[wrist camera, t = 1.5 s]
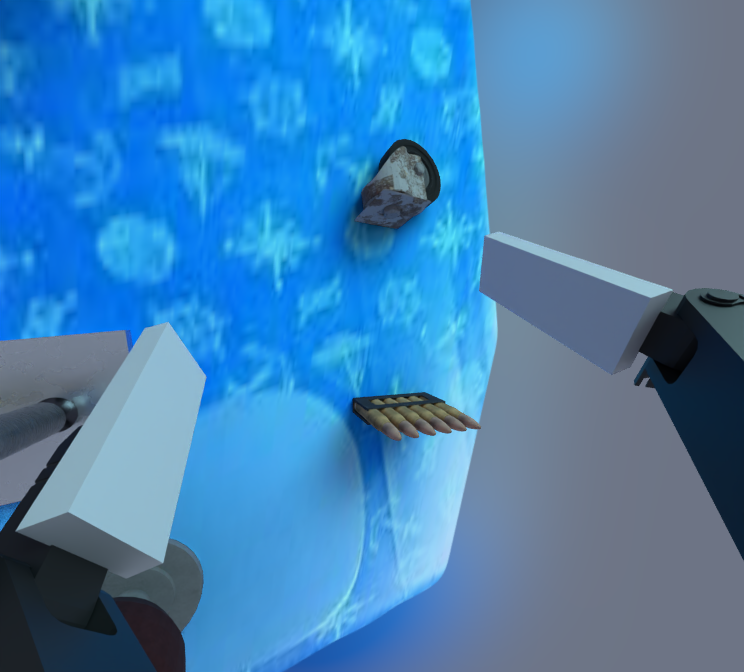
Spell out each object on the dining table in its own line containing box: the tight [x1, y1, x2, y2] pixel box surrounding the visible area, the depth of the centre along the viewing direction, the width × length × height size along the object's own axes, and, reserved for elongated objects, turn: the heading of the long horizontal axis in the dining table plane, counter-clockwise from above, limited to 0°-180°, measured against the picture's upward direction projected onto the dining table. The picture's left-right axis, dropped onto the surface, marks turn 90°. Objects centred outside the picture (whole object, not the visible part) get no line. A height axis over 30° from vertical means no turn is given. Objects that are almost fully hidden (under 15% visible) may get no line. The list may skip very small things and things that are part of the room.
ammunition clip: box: [353, 392, 481, 441], centre depth 32 cm, size 11×2×12 cm, turn 90°
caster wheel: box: [355, 139, 441, 228], centre depth 34 cm, size 7×11×10 cm
